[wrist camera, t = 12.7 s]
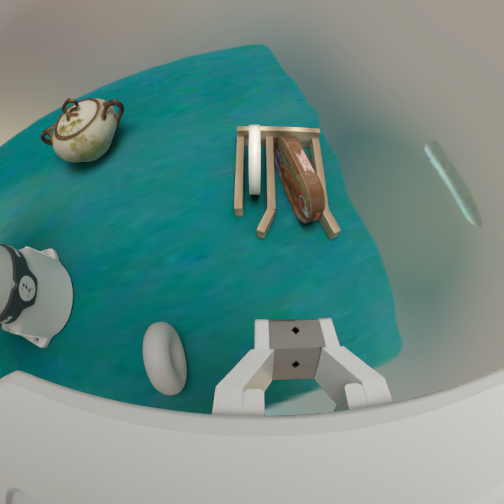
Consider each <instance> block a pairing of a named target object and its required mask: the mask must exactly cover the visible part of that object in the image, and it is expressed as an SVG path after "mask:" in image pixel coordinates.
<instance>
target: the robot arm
mask: <svg viewBox="0 0 504 504" xmlns="http://www.w3.org/2000/svg"><path fill="white" fill-rule="evenodd" d="M72 302H73V290H72V283H71V280H70V277H69V274H68V272H67V271H66V269H65V268H64V267H63V266H62V264H61V263H60V261H59V258H58V255H57V252H56V250H54V249H47V250H43V251H38V250H35V249H33V248H30V247H25V248H22V249H20V250H16V249H15V248H13V247H11V246H8V245H5V244H0V323H2V329H3V330H5V331H7V332H10V333H12V334H17V335H21V336H23V337H24V338H26V339H27V340H29V341H30V342H32V343H34V344H35V345H37V346H39V347H41V348H46V347H47V346H48V344H49V342H50V340H51V338H52V337H53V336H54V335H56V334H57V333H58V332H60V331H61V330H62V328H63V327H64V326H65V324H66V322H67V320H68V318H69V316H70V312H71V308H72ZM38 338H39V341H38ZM306 378H314V379H315V380H316V382H317V383H318V384H319V385H320V386H321V387H322V388H323V390H324V391H325V392H326V393H327V394H328V395H329V396H330V398H331V399H332V400H334V402H335V403H336V404H337V405H336V407H335V410H334V412H328V413H317V414H305V415H286V416H265V408H264V392H265V390H266V389H267V387H268V386H269V384H270V383H271V382H272V380H280V379H306ZM0 504H504V367H503V368H501V369H499V370H496V371H494V372H491V373H489V374H486V375H484V376H481V377H479V378H476V379H473V380H471V381H468V382H465V383H462V384H459V385H456V386H453V387H450V388H447V389H443V390H440V391H437V392H433V393H430V394H426V395H423V396H419V397H414V398H411V399H406V400H402V401H397V402H393V401H392V398H391V395H390V392H389V389H388V386H387V384H386V381H385V378H384V377H382V376H381V375H380V374H378V373H377V372H376V371H375V370H373V369H372V368H371V367H369V366H368V365H367V364H366V363H364V362H363V361H362V360H360V359H359V358H358V357H357V356H355V355H354V354H353V353H351V352H350V351H349V350H348V349H346V348H345V347H344V346H341V347H340V345H339V342H338V338H337V335H336V332H335V329H334V325H333V322H332V319H331V318H319V319H298V320H276V319H269V320H262V319H255V349H251V350H250V351H249V352H248V353H247V354H246V355H245V356H244V357H243V358H242V359H241V361H240V362H239V363H238V364H237V365H236V366H235V367H234V368H233V369H232V370H231V371H230V372H229V373H228V374H227V375H226V376H225V377H224V379H223V380H222V381H221V382H220V383H219V384H218V385H217V386H216V388H215V396H214V403H213V411H212V414H202V413H191V412H182V411H174V410H166V409H159V408H153V407H147V406H141V405H136V404H131V403H126V402H121V401H116V400H112V399H108V398H103V397H99V396H95V395H92V394H88V393H84V392H81V391H77V390H74V389H71V388H67V387H64V386H61V385H58V384H55V383H52V382H49V381H46V380H44V379H41V378H38V377H36V376H33V375H31V374H28V373H26V372H23V371H15V372H12V373H10V374H8V375H6V376H4V377H3V378H1V379H0Z"/></svg>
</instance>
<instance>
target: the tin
mask: <svg viewBox="0 0 504 504" xmlns="http://www.w3.org/2000/svg"><path fill="white" fill-rule="evenodd" d="M273 152H274V161H275V166H276V169H277V172H278V175H279V177H280V180H281V182H282V184H283V187H284V189H285V191H286V194H287V196H288V198H289V201H290V203H291V206H292V208H293V210H294V213H295V215H296V216H297V218H298V219H299V220H300V221H301V222H302V223H305V224H306V223H308V222H311V221H315V220H318V219H320V218H321V216H322V214H323V212H324V209H325V195H324V191H323V187H322V184H321V181H320V179H319V177H318V175H317V173H316V171H315V169H314V167H313V165H312V163H311V161H310V159H309V157H308V156H307V154H306V152H305V150H304V148H303V146H302V144H301V143H300V141H299V140H298V139H297V138H296V137H295V136H284V137H277V138H276V139H275V141H274V146H273Z"/></svg>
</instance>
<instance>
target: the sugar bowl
mask: <svg viewBox="0 0 504 504" xmlns="http://www.w3.org/2000/svg"><path fill="white" fill-rule="evenodd" d="M69 103H74V104H73V105H72V106H70V107H69V108H68V109H67V110H66V105H67V104H69ZM112 105H116V106H118V107H119V113H118V115H117V116H116V112H115V110H114V108H113V107H112ZM62 111H63V114H62V115H61V116H60V117H59V119H58V121H57V123H55V124H54V125H52V126H51V127H49V128H47V129H45V130H44V131H43V132H42V134H41V140H42V141H43V142H44V143H46V144H48V145H53V148H54V150H55V152H56V154H57V155H58V156H59V157H60V158H61V159H63V160H65V161H68V162H74V163H80V162H91V161H94V160H96V159H98V158H100V157H101V156H102V155H103V154H104V153H105V152H106V151H107V150H108V149H109V147H110V145H111V142H112V139H113V136H114V133H115V130H116V128H117V127H118V125H119V121H120V118H121V116H122V114H123V111H124V106H123V104H122V103H121V102H119V101H117V100H110V101H108V102H107V101H105V100H102V99H93V98H89V99H84V100H81V101H79V102H77V101H76V100H74V99H70V98H69V99H67V100H66V101H65V103H64V104H63V107H62ZM52 129H54V132H53V134H52V133H51V132H49V131H50V130H52ZM45 135H48V136H49V137H50V139H51V140H48V139H46V138H45Z"/></svg>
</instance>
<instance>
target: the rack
mask: <svg viewBox="0 0 504 504" xmlns="http://www.w3.org/2000/svg"><path fill="white" fill-rule="evenodd" d="M319 135H320V130H319V129H315V128H298V127H266V126H260V137H261V146H266V192H267V210H266V212H265V214H264V216H263V218H262V220H261V222H260V224H259V226H258V228H257V237H259V238H262V239H264V238H265V236H266V234H267V232H268V229H269V227H270V225H271V223H272V221H273V219H274V216H275V209H276V207H275V178H274V153H273V146H274V141H275V139H276V138H277V137H284V136H295V137H296V138H297V139H298V140H299V141H300V143H301V144H302V146H303V147H308V148H310V154H311V162H312V165H313V167H314V169H315V171H316V173H317V175H318V177H319V179H320V181H321V184H322V187H323V191H324V195H325V209H324V212H323V214H322V216H321V218H320V219H318V220H319V221H320V223H321V225H322V227H323V228H324V230H325V232H326V234H327V235H328V237H329V239H330V240H331V239H333V238H335V237H337V235H338V234H339V233H340V231H341V230H340V228H339V226H338V224H337V223H336V221H335V219H334V218H333V216H332V214H331V212H330V211H329V209H328V201H327V193H326V185H325V177H324V170H323V164H322V157H321V151H320V144H319ZM245 146H249V126H245V127H237V153H236V175H235V200H234V211H235V217H243V193H244V154H245Z"/></svg>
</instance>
